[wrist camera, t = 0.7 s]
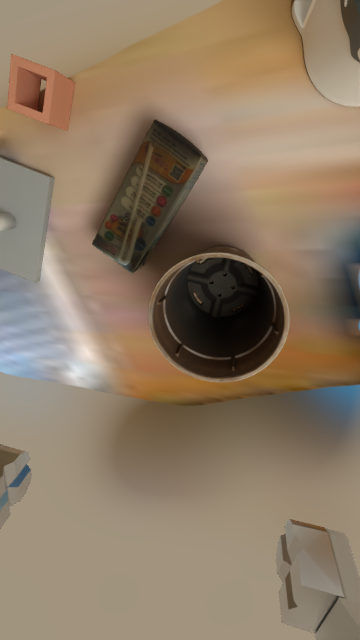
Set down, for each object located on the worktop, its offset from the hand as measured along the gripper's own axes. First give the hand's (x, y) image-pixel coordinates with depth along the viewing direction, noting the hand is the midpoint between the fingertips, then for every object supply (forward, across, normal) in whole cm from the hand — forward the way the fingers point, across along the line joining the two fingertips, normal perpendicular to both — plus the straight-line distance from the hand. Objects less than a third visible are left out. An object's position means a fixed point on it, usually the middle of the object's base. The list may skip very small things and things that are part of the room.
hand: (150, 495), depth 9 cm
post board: (+43, +36, +1) cm, 56 cm away
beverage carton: (+43, +12, -5) cm, 45 cm away
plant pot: (+43, -1, +6) cm, 43 cm away
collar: (+43, +28, -16) cm, 54 cm away
